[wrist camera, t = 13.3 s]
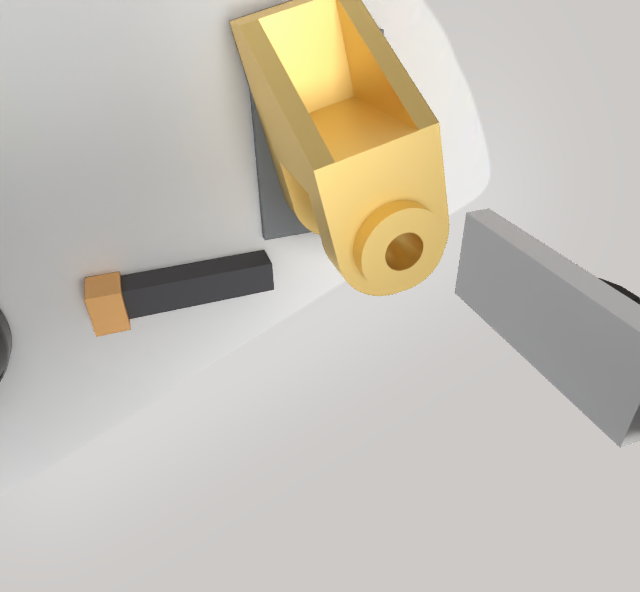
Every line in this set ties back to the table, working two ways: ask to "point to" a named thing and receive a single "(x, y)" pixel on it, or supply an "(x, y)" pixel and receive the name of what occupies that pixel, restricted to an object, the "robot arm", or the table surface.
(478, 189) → the table surface
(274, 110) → the gold clevis bracket
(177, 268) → the dark grey bar
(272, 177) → the mat
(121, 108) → the table surface
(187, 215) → the table surface
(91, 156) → the table surface
